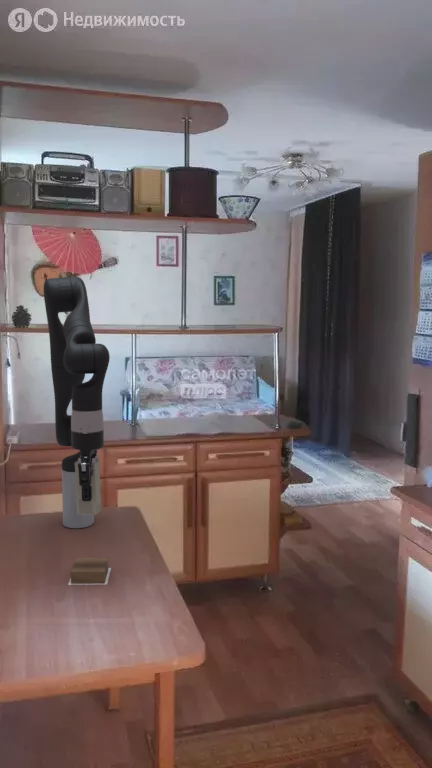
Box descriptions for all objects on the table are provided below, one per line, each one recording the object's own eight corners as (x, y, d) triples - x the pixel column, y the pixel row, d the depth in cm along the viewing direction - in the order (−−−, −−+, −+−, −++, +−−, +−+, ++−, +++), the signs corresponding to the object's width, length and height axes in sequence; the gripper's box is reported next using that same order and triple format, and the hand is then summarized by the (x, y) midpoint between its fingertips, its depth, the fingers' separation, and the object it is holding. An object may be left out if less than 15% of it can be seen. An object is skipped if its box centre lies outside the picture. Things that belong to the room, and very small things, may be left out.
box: (101, 509, 162) (101, 458, 160) (96, 515, 157) (96, 463, 155) (80, 508, 162) (79, 457, 160) (74, 514, 158) (74, 462, 156)
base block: (76, 569, 166) (76, 557, 165) (108, 569, 166) (108, 557, 166) (70, 583, 158) (70, 571, 158) (104, 583, 158) (104, 571, 158)
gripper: (76, 421, 163) (77, 488, 166) (65, 434, 149) (67, 507, 152) (107, 421, 164) (107, 488, 166) (99, 434, 150) (100, 507, 152)
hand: (88, 496), depth 159 cm, fingers closed on box, 4 cm apart
